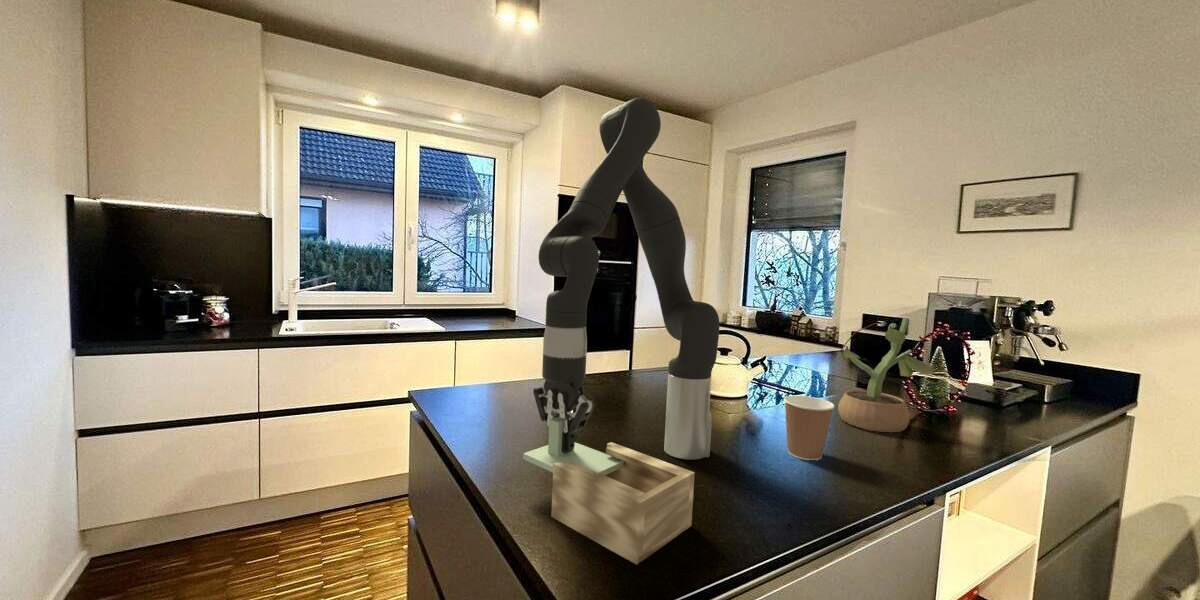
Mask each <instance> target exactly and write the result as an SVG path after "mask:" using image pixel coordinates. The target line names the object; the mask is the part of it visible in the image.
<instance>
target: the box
mask: <svg viewBox="0 0 1200 600" xmlns="http://www.w3.org/2000/svg"><path fill="white" fill-rule="evenodd" d="M605 454H607V455H610V456H612V457H615V458H618V459H620V460H623V461H624V467H622V468H620V469H618V470H616V471H614V472H611V473H609V474H607V475H605V476H604V475H602V474H600V473H597V472H595V471H593V470H590V469H588V468H586V467H583V466H581V465H579V464H576V463H574V462H572V461H571V462H569V463H566V464H563V463H560V462H557V463H555V464H553V473H552V491H551V492H552V493H551V516H550V517H551V518H553V520H557V521H558V522H560V523H562V524H563V525H565V526H567V527H569V528H571V529H572V530H574V531H576V532H577V533H579V534H581V535H582V536H584V537H587V538H588V539H590V540H591V541H593V542H595V543H597V544H599V545H601V546H602V547H604V548H606V549H607V550H609V551H611V552H613V553H615V554H617V555H618V556H620V557H622V558H623V559H626V560H627V561H629V562H631V563H633V564H635V565H639V564H640V563H642V562H643V561H645V560H646V559H648V558H649V557H650V556H651V555H653V554H654V553H656V552H657V551H658V550H659V549H661V548H663V547H664V546H666V545H667V544H668V543H670V542H671V541H673V539H675V538H677V537H678V536H680V535H681V534H682V533H684V532H685V531H686V530H688V529H690V527H692V524H693V522H692V521H693V505H694V504H693V503H694V491H695V490H694V489H695V488H694V487H695V475H696V472H694V471H692V470H689V469H686V468H683V467H681V466H678V465H675V464H672V463H670V462H667V461H664V460H661V459H658V458H656V457H653V456H650V455H648V454H645V453H642V452H640V451H636V450H634V449H632V448H628V447H626V446H623V445H620V444H619V443H618V444H617V443H614V442H608V443H606V448H605Z"/></svg>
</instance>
